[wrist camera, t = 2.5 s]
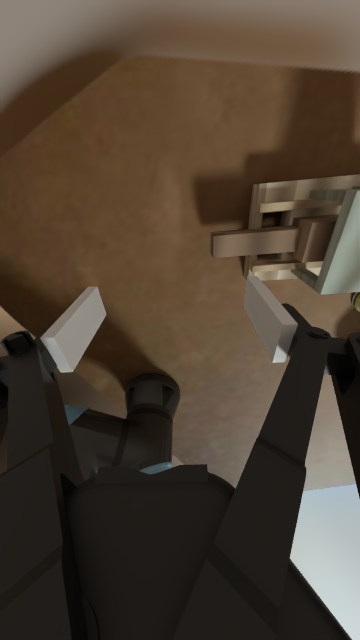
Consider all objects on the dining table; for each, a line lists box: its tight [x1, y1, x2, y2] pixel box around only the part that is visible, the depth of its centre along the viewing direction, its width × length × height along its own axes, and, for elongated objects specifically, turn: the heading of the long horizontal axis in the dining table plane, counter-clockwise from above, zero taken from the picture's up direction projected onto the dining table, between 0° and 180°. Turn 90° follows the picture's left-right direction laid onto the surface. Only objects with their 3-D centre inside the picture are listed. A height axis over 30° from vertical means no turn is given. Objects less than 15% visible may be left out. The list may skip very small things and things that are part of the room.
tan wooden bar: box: [210, 214, 339, 263], centre depth 28 cm, size 18×5×5 cm, turn 95°
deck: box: [243, 174, 360, 295], centre depth 27 cm, size 23×14×12 cm, turn 94°
